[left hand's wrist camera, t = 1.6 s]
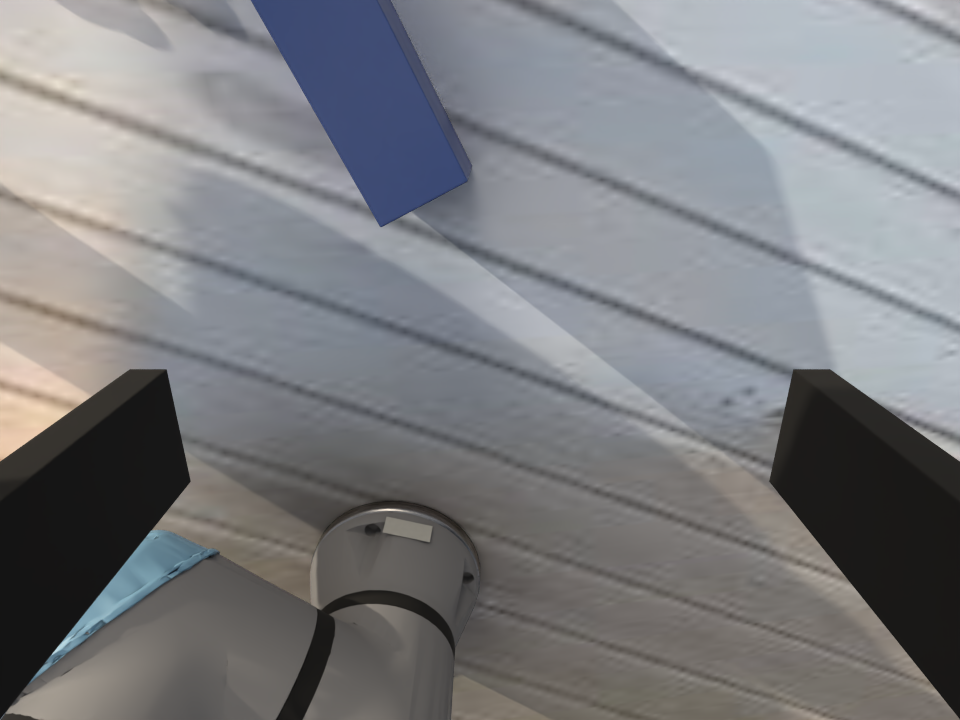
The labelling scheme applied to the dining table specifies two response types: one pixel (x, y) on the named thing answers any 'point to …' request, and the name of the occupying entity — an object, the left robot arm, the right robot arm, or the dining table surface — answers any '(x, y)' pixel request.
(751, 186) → the dining table surface
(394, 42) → the bar
